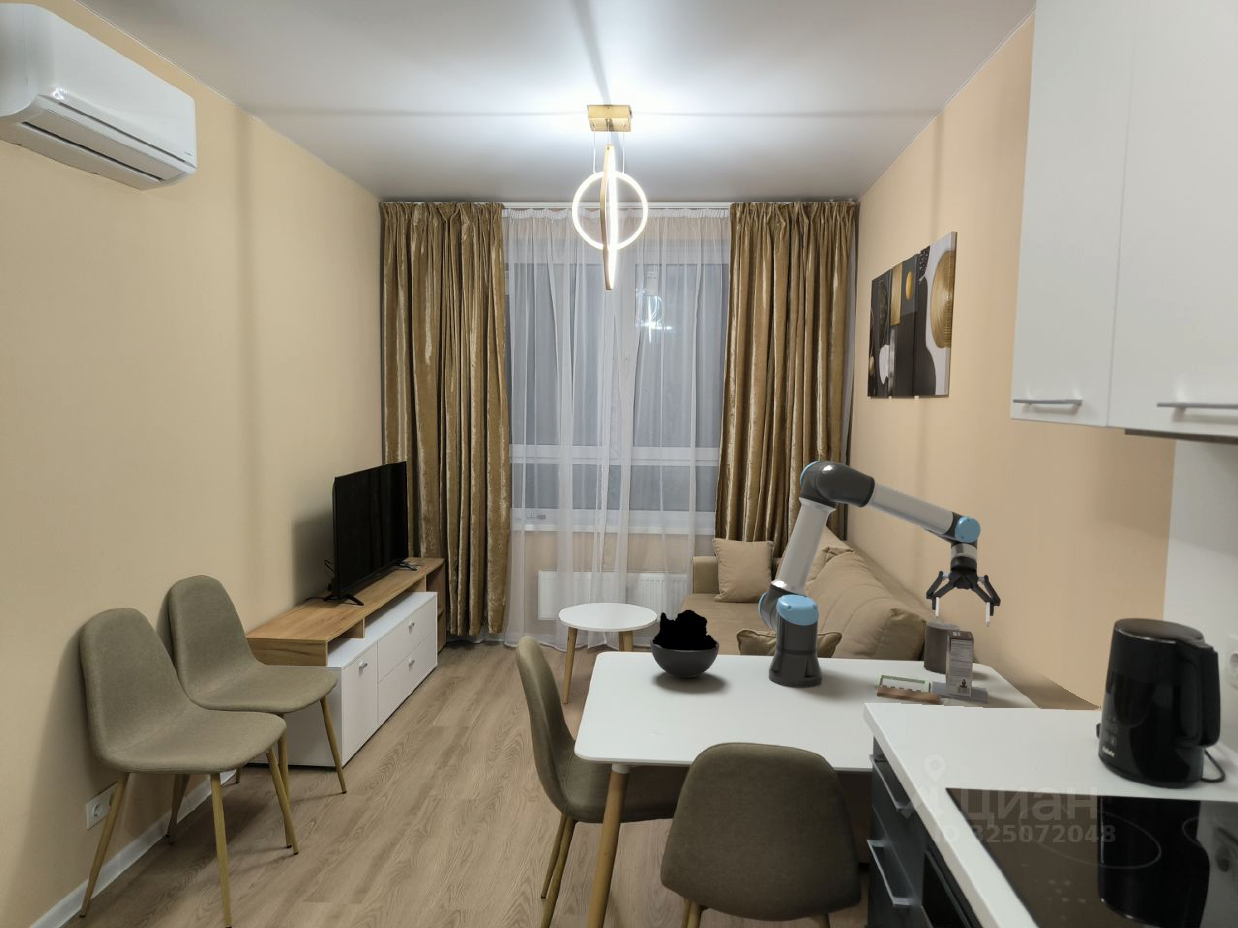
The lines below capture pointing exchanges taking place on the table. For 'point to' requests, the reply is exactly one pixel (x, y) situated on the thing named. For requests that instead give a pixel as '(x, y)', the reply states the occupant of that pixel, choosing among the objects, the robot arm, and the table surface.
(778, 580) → the robot arm
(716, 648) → the coal bowl
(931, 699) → the walnut ticket board
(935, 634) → the pillar candle
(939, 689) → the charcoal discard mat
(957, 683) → the coffee box
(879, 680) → the sage stub frame
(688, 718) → the table surface
